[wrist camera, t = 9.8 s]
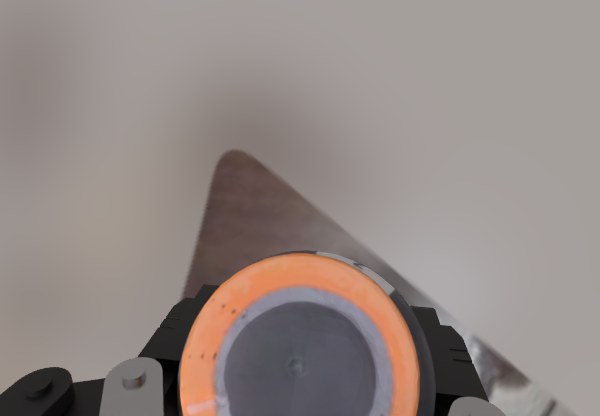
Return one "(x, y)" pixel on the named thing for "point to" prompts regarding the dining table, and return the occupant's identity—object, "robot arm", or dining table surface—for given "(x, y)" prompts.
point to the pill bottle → (306, 344)
